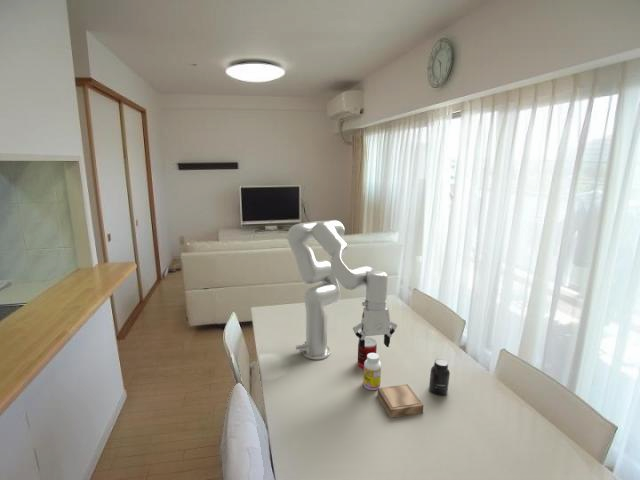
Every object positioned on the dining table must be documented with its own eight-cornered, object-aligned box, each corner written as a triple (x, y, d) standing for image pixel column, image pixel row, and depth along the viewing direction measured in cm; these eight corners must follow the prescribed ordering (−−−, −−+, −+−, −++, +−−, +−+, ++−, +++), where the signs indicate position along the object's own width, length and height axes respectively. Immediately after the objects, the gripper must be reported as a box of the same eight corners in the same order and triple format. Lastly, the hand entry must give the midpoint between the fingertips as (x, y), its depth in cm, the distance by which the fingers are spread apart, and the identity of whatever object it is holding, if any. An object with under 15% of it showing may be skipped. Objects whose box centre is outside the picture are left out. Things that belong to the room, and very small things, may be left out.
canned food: (377, 362, 151) (378, 339, 149) (372, 372, 144) (373, 347, 142) (360, 358, 155) (361, 335, 152) (354, 367, 147) (355, 343, 145)
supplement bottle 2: (438, 398, 129) (441, 369, 126) (425, 388, 134) (427, 360, 132) (451, 393, 132) (454, 364, 129) (438, 383, 138) (440, 355, 135)
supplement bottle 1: (359, 382, 137) (361, 353, 134) (374, 378, 140) (375, 349, 137) (368, 392, 131) (370, 362, 128) (383, 388, 134) (385, 358, 131)
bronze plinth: (390, 417, 118) (391, 409, 118) (377, 395, 130) (377, 387, 129) (422, 412, 121) (423, 404, 120) (407, 391, 132) (407, 383, 132)
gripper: (356, 310, 123) (355, 354, 126) (402, 306, 127) (399, 349, 130) (350, 302, 130) (349, 344, 133) (393, 298, 134) (391, 339, 137)
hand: (374, 346), depth 132 cm, fingers open, 9 cm apart
